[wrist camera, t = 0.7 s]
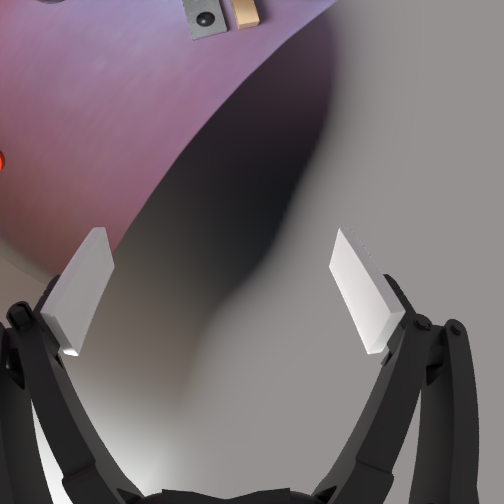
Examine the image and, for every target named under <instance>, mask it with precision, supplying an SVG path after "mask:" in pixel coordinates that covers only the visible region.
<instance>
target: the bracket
mask: <svg viewBox="0 0 504 504" xmlns="http://www.w3.org/2000/svg"><path fill="white" fill-rule="evenodd" d="M3 167H4V157H3V155H2V153H1V152H0V171H1V170H2V169H3Z"/></svg>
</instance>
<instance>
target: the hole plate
mask: <svg viewBox="0 0 504 504" xmlns="http://www.w3.org/2000/svg"><path fill="white" fill-rule="evenodd" d="M182 3H183V6H184V10H185V13H186V17H187V20H188V24H189V27H190V31H191V34H192V38H193V40H197V39H201V38H204V37H208V36H212V35H216V34H220V33H224V32H227V28H226V24H225V21H224V17H223V14H222V10H221V7H220V4H219V0H182Z"/></svg>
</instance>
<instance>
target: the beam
mask: <svg viewBox="0 0 504 504" xmlns="http://www.w3.org/2000/svg"><path fill="white" fill-rule="evenodd" d="M230 2H231V5H232V9H233V12H234V15H235V19H236V22H237V26H238V29H243V28H248V27H254V26H257V25H258V23H259V17H258V14H257V11H256V7H255V4H254V1H253V0H230Z"/></svg>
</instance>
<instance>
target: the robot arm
mask: <svg viewBox="0 0 504 504" xmlns="http://www.w3.org/2000/svg"><path fill="white" fill-rule="evenodd" d="M36 1H39V2H43V3H48V4H52V3H58V2H61V1H64V0H36ZM329 268H330V270H331V272H332V274H333V276H334V278H335V280H336V283H337V285H338V287H339V289H340V291H341V293H342V296H343V298H344V300H345V302H346V304H347V307H348V309H349V311H350V313H351V316H352V318H353V320H354V322H355V324H356V327H357V329H358V332H359V334H360V336H361V339H362V341H363V343H364V346H365V348H366V351H367V353H368V354H373V353H379V352H382V351H383V349H384V347H385V346H386V344H387V346H388V348H389V352H388V354H387V355H386V357H385V358H384V359H383V361H382V362H381V364H382V365H383V366H382V368H381V371H380V373H379V376H378V378H377V381H376V383H375V385H374V388H373V390H372V392H371V394H370V397H369V399H368V401H367V403H366V405H365V408H364V410H363V412H362V414H361V416H360V418H359V420H358V422H357V424H356V426H355V428H354V430H353V432H352V434H351V436H350V437H349V439H348V441H347V443H346V445H345V447H344V448H343V450H342V452H341V453H340V455H339V457H338V459H337V460H336V462H335V464H334V465H333V467H332V469H331V470H330V472H329V473H328V475H327V476H326V477H325V478H324V479H323V480H322V481H321V482H320V483H319V485H318V486H317V487H316V489H315V490H314V492H313V493H312V495H311V496H310V495H307V494H304V493H300V492H295V491H290V488H284V489H275V490H266V491H257V492H254V493H251V494H247V495H243V496H239V497H235V498H231V499H220V498H215V497H211V496H207V495H203V494H199V493H195V492H188V491H176V490H165V489H162V493H157V494H152V495H149V496H146V497H144V495H143V494H142V493H141V492H140V491H139V489H138V488H137V487H136V486H135V485H134V484H133V483H132V482H131V481H130V480H129V479H128V478H127V477H126V476H125V475H124V473H123V472H122V471H121V470H120V468H119V466H118V465H117V463H116V462H115V460H114V459H113V457H112V456H111V455H110V453H109V452H108V450H107V448H106V447H105V445H104V443H103V442H102V440H101V439H100V437H99V436H98V434H97V432H96V430H95V428H94V426H93V425H92V423H91V421H90V419H89V417H88V415H87V414H86V412H85V410H84V408H83V406H82V404H81V402H80V400H79V398H78V396H77V394H76V392H75V389H74V387H73V385H72V383H71V381H70V378H69V376H68V374H67V371H66V369H65V367H64V364H63V362H62V359H61V357H60V355H59V354H58V350H59V348H60V346H61V348H62V350H63V351H64V353H65V354H70V355H75V356H78V355H79V353H80V350H81V347H82V344H83V341H84V338H85V336H86V333H87V330H88V328H89V325H90V323H91V320H92V317H93V315H94V312H95V310H96V308H97V305H98V303H99V301H100V298H101V296H102V293H103V291H104V289H105V287H106V284H107V282H108V280H109V278H110V276H111V273H112V271H113V269H114V263H113V259H112V255H111V251H110V247H109V243H108V239H107V235H106V230H105V227H95V228H93V229H92V230H91V232H90V233H89V234H88V236H87V237H86V239H85V240H84V241H83V243H82V244H81V246H80V247H79V249H78V250H77V252H76V253H75V255H74V256H73V258H72V259H71V261H70V262H69V264H68V265H67V267H66V268H65V270H64V272H63V273H62V275H57V276H56V277H55V278H53V279H52V280H51V281H50V283H49V284H48V286H47V288H46V290H45V291H44V293H43V296H41V298H40V300H39V302H38V303H37V305H36V307H35V308H34V310H33V312H32V310H31V308H30V307H29V304H28V303H27V302H25V301H20V302H17V303H15V304H14V305H12V306H11V307H10V309H9V310H8V312H7V315H6V318H7V320H8V321H9V323H10V325H11V326H12V328H6V329H5V327H4V326H3V324H2V323H1V322H0V504H53V501H52V498H51V494H50V492H49V488H48V485H47V481H46V478H45V474H44V471H43V467H42V463H41V458H40V454H39V450H38V445H37V440H36V433H35V428H34V421H33V413H32V405H31V399H32V402H33V405H34V408H35V411H36V414H37V417H38V419H39V422H40V424H41V427H42V430H43V432H44V434H45V437H46V439H47V441H48V444H49V446H50V448H51V450H52V453H53V455H54V457H55V459H56V461H57V463H58V465H59V467H60V469H61V471H62V473H63V476H64V477H63V479H62V485H63V487H64V489H65V491H66V493H67V495H68V496H69V498H70V500H71V501H72V503H73V504H383V502H384V500H385V498H386V496H387V495H388V492H389V491H390V488H391V486H392V483H393V480H394V476H393V474H392V469H393V466H394V464H395V462H396V459H397V457H398V455H399V452H400V450H401V447H402V445H403V442H404V439H405V437H406V434H407V431H408V428H409V425H410V422H411V420H412V417H413V413H414V410H415V407H416V404H417V400H418V397H419V393H420V390H421V411H420V426H419V438H418V447H417V456H416V462H415V469H414V475H413V481H412V486H411V491H410V497H409V504H479V499H478V492H477V487H476V486H477V476H478V461H479V418H478V404H477V393H476V383H475V375H474V369H473V362H472V356H471V350H470V345H469V340H468V335H467V331H466V329H465V327H464V325H463V324H462V323H461V322H459V321H457V320H455V319H450V320H448V321H447V322H446V324H445V325H444V326H439V325H432V323H431V321H430V320H429V319H428V318H427V317H425V316H424V315H421V314H416V312H415V310H414V309H413V307H412V306H411V304H410V303H409V301H408V299H407V298H406V296H405V295H404V293H403V291H402V290H401V289H400V287H399V285H398V284H397V282H396V281H395V280H394V279H393V278H392V277H391V276H389V275H388V274H382V273H381V271H380V270H379V268H378V267H377V265H376V264H375V262H374V261H373V259H372V258H371V256H370V255H369V254H368V252H367V251H366V249H365V248H364V246H363V245H362V244H361V242H360V240H359V239H358V238H357V236H356V235H355V233H354V232H353V231H352V229H351V228H339V230H338V234H337V238H336V242H335V246H334V251H333V254H332V258H331V262H330V266H329Z"/></svg>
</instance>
